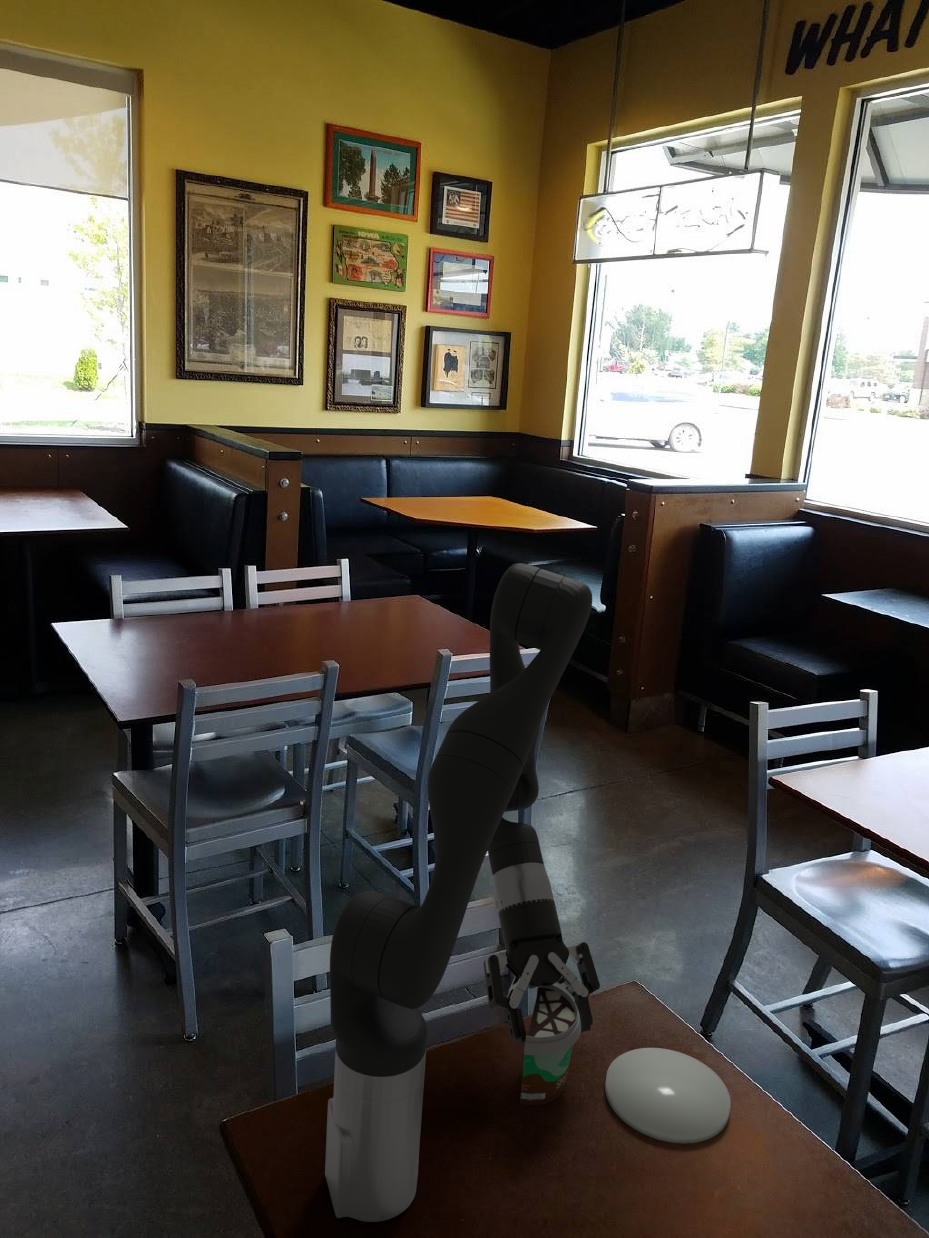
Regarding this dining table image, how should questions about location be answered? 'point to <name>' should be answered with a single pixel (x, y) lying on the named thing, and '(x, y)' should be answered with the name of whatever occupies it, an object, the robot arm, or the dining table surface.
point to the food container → (549, 1045)
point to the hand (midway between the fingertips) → (554, 1037)
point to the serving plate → (667, 1095)
